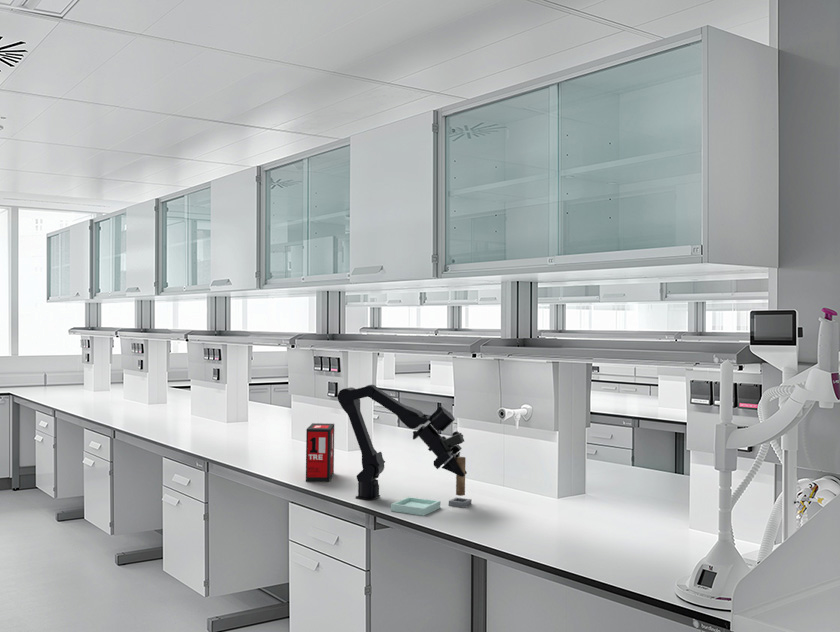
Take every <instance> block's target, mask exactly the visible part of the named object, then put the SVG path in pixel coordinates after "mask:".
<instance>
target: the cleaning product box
mask: <svg viewBox="0 0 840 632" xmlns="http://www.w3.org/2000/svg"><path fill="white" fill-rule="evenodd" d="M305 438H306V441H305V443H306V445H305V483H307V482H309V483H311V482H312V483H314V482H315V483H329V482H330V481H331V479H332V477H333V475H334V474H335V470H334V469H335V423H321V422H320V423H314V422H313V423H312V422H311V424H310V425H309V426H308V427H307V428H306V437H305Z"/></svg>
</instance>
